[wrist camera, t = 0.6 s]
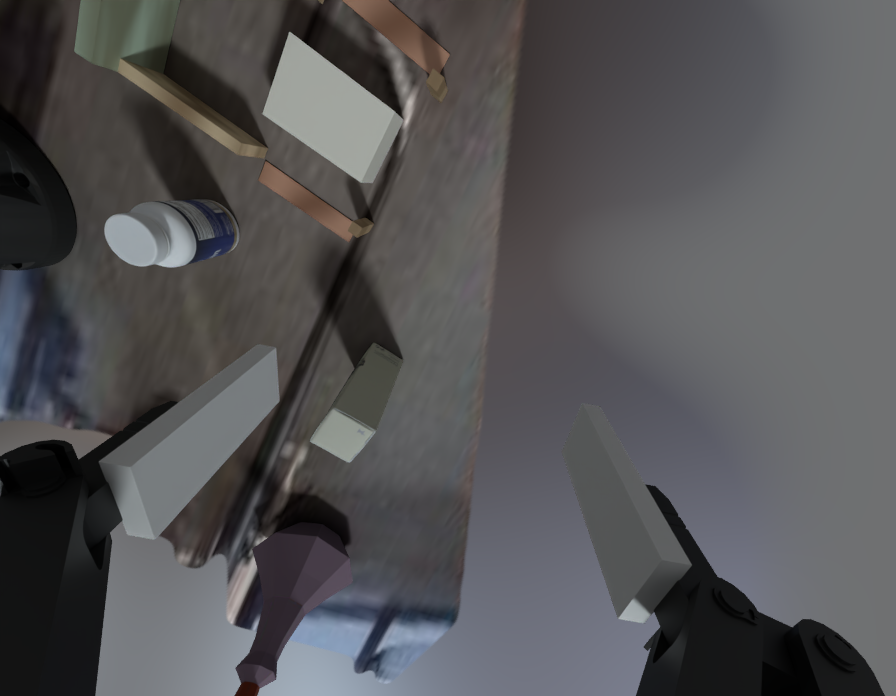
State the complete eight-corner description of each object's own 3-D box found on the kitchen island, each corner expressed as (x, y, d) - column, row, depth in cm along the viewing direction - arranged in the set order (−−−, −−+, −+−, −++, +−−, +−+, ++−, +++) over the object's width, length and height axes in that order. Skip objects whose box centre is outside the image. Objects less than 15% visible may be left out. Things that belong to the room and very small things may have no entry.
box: (374, 340, 39) (333, 404, 28) (405, 360, 40) (378, 430, 29) (352, 370, 41) (306, 442, 30) (382, 389, 42) (349, 466, 31)
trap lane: (141, 100, 30) (70, 81, 25) (198, -166, 23) (115, -272, 18) (359, 249, 35) (339, 260, 29) (462, 65, 28) (459, 36, 22)
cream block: (287, 122, 31) (262, 114, 27) (312, 51, 28) (289, 31, 25) (373, 182, 32) (361, 182, 29) (404, 120, 30) (395, 111, 26)
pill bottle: (211, 260, 36) (128, 284, 28) (178, 210, 34) (78, 219, 26) (251, 243, 35) (178, 262, 27) (220, 190, 33) (130, 192, 24)
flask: (278, 492, 52) (175, 655, 34) (376, 528, 54) (329, 698, 36) (258, 551, 59) (164, 711, 41) (346, 580, 61) (294, 745, 43)
